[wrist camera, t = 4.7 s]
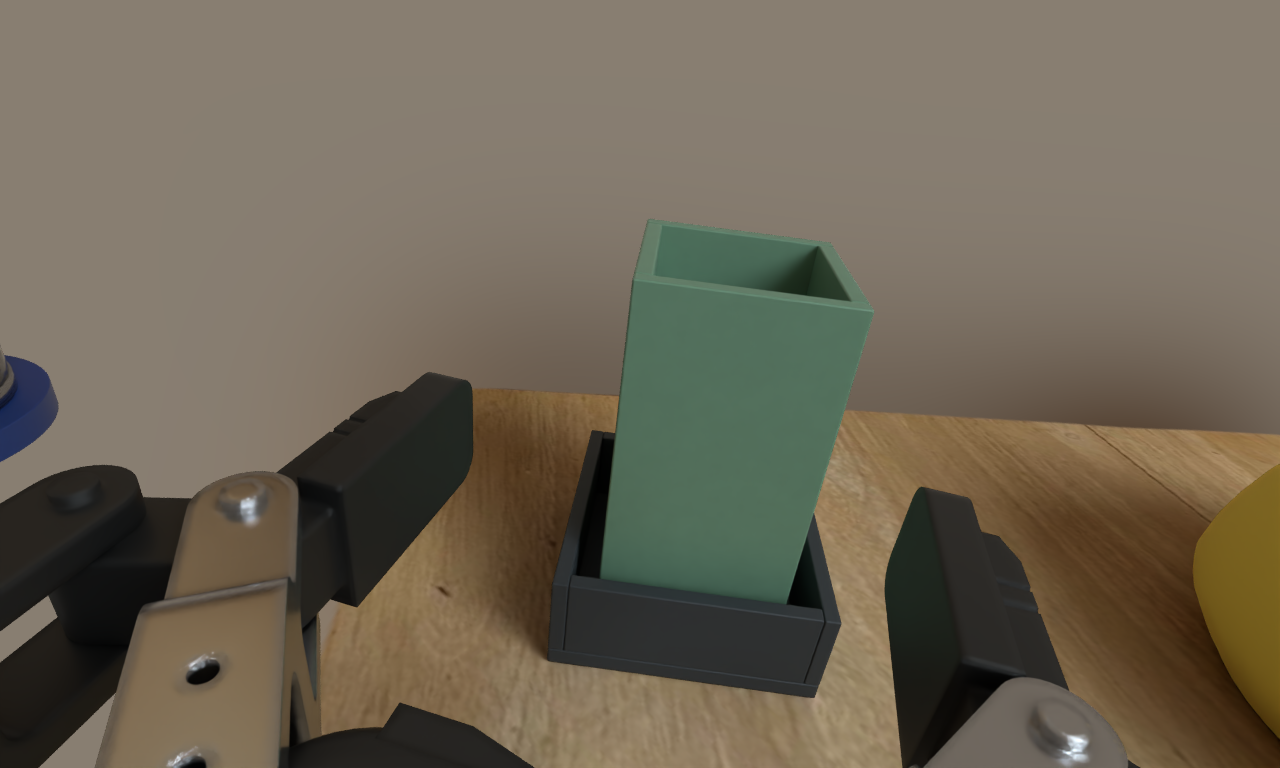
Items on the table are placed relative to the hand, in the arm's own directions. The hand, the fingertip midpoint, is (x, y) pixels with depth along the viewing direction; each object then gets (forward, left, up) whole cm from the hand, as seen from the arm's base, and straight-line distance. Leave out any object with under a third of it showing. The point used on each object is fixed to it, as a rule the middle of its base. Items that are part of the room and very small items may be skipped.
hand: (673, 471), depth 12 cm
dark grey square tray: (+2, +9, -11) cm, 14 cm away
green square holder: (+2, +9, -11) cm, 14 cm away
